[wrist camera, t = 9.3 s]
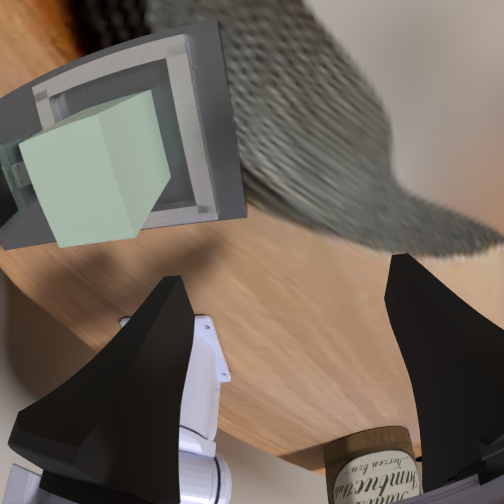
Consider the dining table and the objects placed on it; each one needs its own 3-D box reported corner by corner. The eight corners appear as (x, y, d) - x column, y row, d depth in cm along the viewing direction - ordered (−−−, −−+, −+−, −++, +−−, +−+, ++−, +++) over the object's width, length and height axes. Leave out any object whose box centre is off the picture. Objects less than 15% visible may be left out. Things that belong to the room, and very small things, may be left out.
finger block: (150, 89, 14) (97, 114, 9) (170, 177, 17) (136, 237, 12) (79, 111, 14) (12, 146, 9) (103, 189, 17) (53, 248, 12)
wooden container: (417, 416, 38) (441, 543, 21) (400, 445, 47) (415, 545, 29) (322, 436, 40) (331, 570, 23) (324, 460, 49) (330, 563, 31)
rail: (219, 21, 13) (192, 1, 7) (247, 209, 19) (243, 289, 13) (-36, 123, 14) (-101, 162, 9) (10, 243, 21) (-35, 300, 15)
